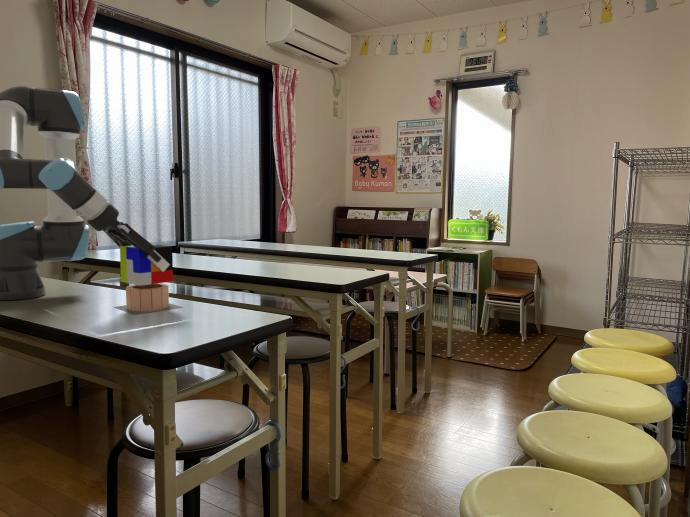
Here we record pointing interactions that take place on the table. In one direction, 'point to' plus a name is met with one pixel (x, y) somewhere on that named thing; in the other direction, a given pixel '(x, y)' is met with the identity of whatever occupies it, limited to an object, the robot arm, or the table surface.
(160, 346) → the table surface
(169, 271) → the puzzle toy
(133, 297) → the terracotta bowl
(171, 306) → the rubber mat
